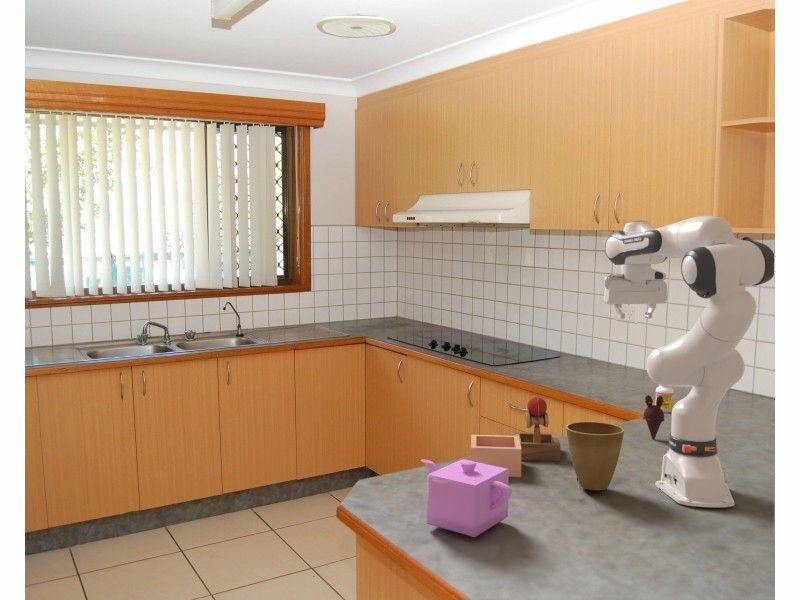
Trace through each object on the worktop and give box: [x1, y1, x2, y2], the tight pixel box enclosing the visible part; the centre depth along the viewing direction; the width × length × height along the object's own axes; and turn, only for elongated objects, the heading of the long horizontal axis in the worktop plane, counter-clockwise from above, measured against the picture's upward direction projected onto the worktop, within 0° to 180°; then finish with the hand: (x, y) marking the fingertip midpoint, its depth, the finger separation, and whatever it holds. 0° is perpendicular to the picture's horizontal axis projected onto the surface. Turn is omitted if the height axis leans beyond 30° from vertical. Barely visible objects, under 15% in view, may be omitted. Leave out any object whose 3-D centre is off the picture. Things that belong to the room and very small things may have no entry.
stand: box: [470, 434, 522, 478], centre depth 206 cm, size 14×14×8 cm
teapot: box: [420, 458, 513, 538], centre depth 168 cm, size 15×25×14 cm, turn 53°
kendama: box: [524, 396, 550, 443], centre depth 220 cm, size 8×6×18 cm
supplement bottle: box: [654, 384, 675, 414], centre depth 273 cm, size 7×7×13 cm
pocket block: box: [513, 431, 561, 462], centre depth 221 cm, size 13×13×5 cm
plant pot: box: [565, 421, 625, 491], centre depth 191 cm, size 15×15×16 cm
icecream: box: [642, 394, 665, 441], centre depth 237 cm, size 7×7×15 cm
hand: (634, 318), depth 221 cm, fingers open, 8 cm apart
